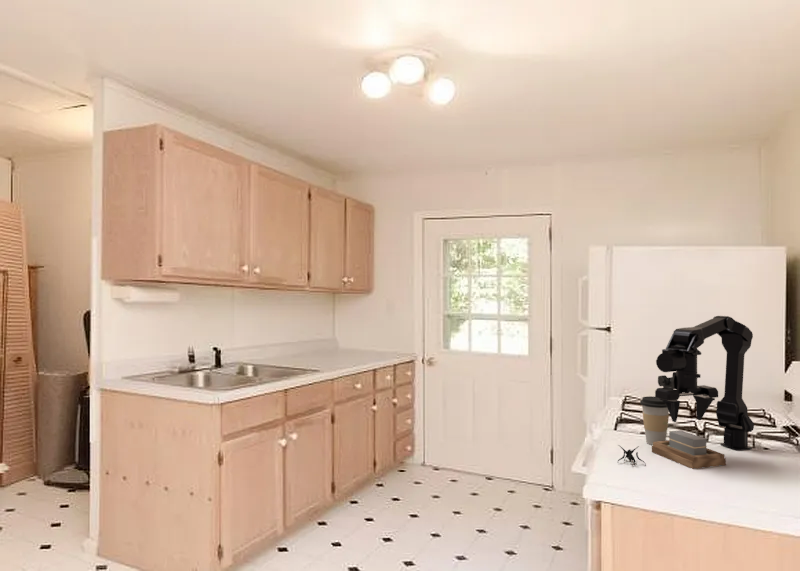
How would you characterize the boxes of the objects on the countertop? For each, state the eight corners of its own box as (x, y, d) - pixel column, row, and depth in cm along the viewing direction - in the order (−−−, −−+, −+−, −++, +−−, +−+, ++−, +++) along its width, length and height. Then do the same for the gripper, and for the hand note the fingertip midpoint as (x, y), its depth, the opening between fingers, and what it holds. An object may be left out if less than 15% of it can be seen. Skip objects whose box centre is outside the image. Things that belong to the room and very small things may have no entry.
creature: (647, 472, 157) (641, 458, 164) (648, 455, 156) (642, 442, 163) (619, 470, 158) (614, 456, 166) (619, 454, 157) (614, 440, 165)
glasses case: (680, 445, 171) (680, 430, 171) (706, 455, 161) (706, 438, 161) (669, 447, 170) (669, 431, 170) (694, 456, 160) (694, 439, 160)
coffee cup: (674, 448, 176) (674, 402, 176) (643, 446, 178) (643, 401, 178) (666, 440, 185) (666, 396, 185) (637, 438, 187) (637, 395, 187)
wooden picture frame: (682, 448, 175) (682, 439, 175) (725, 465, 159) (725, 454, 159) (651, 452, 172) (651, 442, 172) (692, 468, 156) (692, 457, 156)
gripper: (691, 365, 176) (691, 413, 176) (642, 367, 171) (642, 416, 171) (719, 370, 165) (719, 421, 165) (668, 372, 160) (668, 425, 160)
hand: (686, 420), depth 166 cm, fingers open, 9 cm apart
